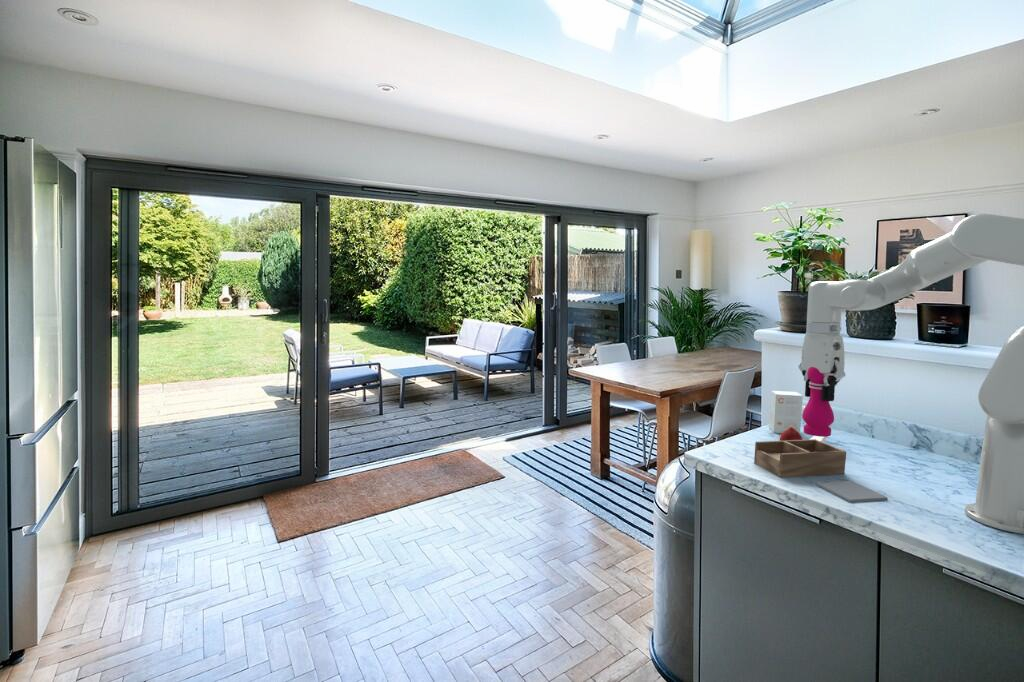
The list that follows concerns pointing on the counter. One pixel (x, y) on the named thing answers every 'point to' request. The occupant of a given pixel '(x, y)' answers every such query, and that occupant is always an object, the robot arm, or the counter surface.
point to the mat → (851, 491)
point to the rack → (800, 458)
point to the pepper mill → (817, 407)
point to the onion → (790, 434)
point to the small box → (785, 411)
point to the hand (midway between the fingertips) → (819, 398)
